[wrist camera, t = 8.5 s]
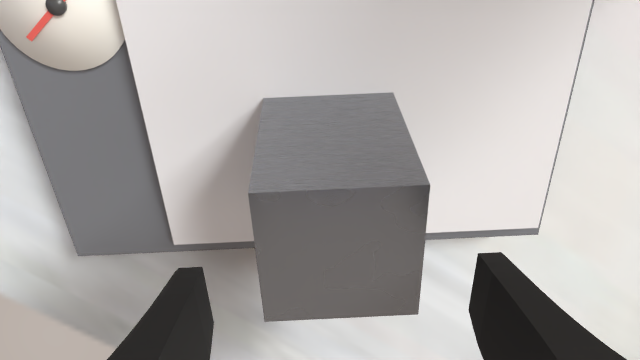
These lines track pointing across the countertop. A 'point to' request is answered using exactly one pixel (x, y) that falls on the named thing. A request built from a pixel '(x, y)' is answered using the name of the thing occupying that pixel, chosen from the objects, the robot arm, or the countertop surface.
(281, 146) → the block
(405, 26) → the scale
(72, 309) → the countertop surface
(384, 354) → the countertop surface
